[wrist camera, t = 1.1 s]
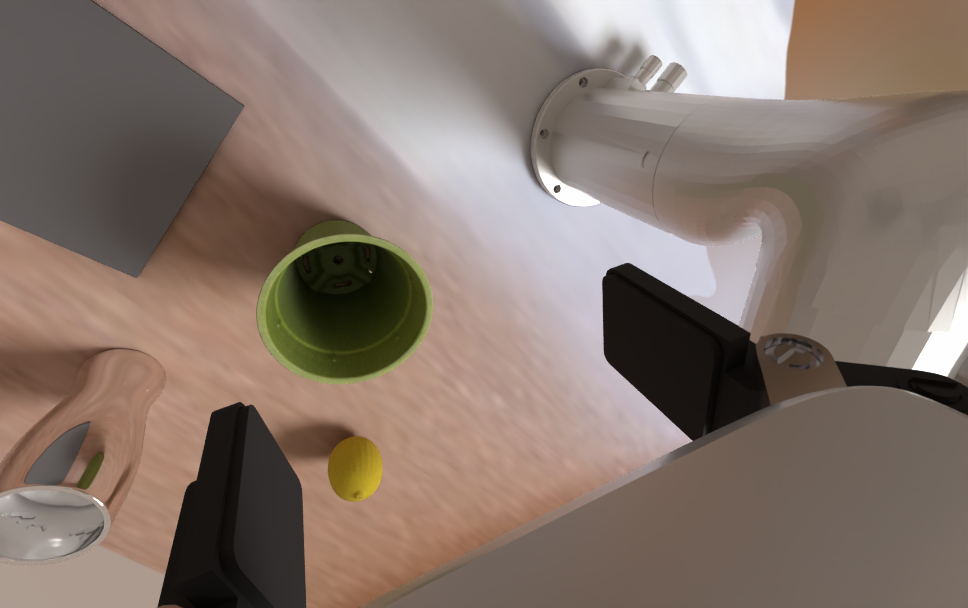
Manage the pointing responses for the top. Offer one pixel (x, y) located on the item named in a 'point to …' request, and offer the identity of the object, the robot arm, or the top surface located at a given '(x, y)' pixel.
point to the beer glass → (78, 461)
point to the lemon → (355, 468)
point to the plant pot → (344, 306)
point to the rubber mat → (99, 130)
